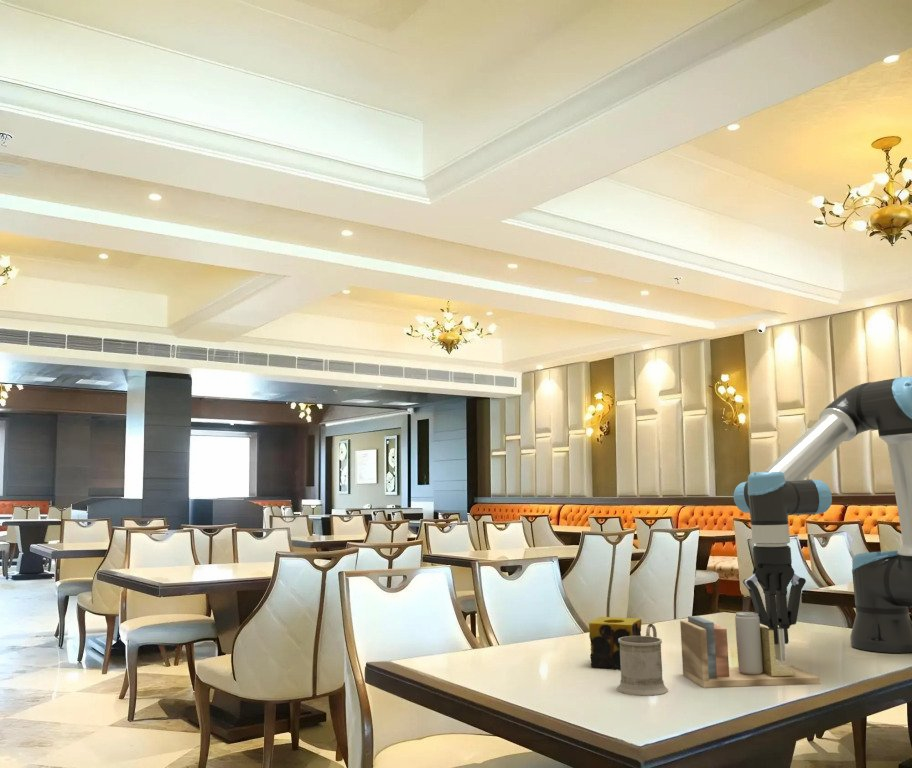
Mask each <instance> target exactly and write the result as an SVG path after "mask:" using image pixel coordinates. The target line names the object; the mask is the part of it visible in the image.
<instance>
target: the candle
mask: <svg viewBox="0 0 912 768" xmlns="http://www.w3.org/2000/svg"><path fill="white" fill-rule="evenodd" d="M588 630H589V637H588V638H589V640H590V667H591V668H592V669H593V668H594V669H604V668H605V669H606V670H617V671H618V670H620V671H621V664H620V643H619V642H618V639H619V638H621V637H627V636H642V633H641V631H642V618H641V617H637V618H636V617H618V616H617V617H615V616H614V617H613V616H612V617H611V616H599V617H597V618H595V619H593V620H592V621H590V622H588ZM605 669H604V670H605Z"/></svg>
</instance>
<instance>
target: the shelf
mask: <svg viewBox="0 0 912 768" xmlns="http://www.w3.org/2000/svg"><path fill="white" fill-rule="evenodd" d="M679 621H680V622H679V623H680V642H681V659H682V660H681V661H682V676H685V678H687V679H689V680H690V681H692V682H694V683H695V684H697V685H698V686H700V687H702V688H704V689H705V688H706V689H707V688H709V689H710V688H732V687H733V688H734V687H736V688H737V687H738V688H739V687H761V686H763V687H764V686H765V687H766V686H789V685H795V686H796V685H817V684H818V685H819V684H821V678H820V676H818V675H815V674H813V673H811V672H808V671H806V670H804V669H801V668H800V667H796V666H794V665H791V664H790V665H789V664H788V665H781V666H782V667H784V668H787V669H789V670H791V671H793V672H796V676H770V675H768V674H766V673H764V672H762V673H761V674H759V675H746V674H742V673H741V672H740V671H739V667H738V666H732V667H731V666H729V665H730V664H729V663H730V661H729V646H728V631H727V628H726V627H723V626H721V625H718V624H716V623H714V622H713V621H711V620H708V619H706V618H704V617H701V616H698V615H695V616H694V615H690V616H687V620H679Z"/></svg>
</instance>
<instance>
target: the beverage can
mask: <svg viewBox="0 0 912 768" xmlns="http://www.w3.org/2000/svg"><path fill="white" fill-rule="evenodd" d="M734 622H735V624H734V625H735V637H736V638H735V639H736V640H735V641H736V654H737V667H739V671H740V672H741V673H742V674H746V675H759V674H761V673H762V672H763V663H762V649H761V634H760V626H761V624H760V619H759V616H758V613H756V612H755V611H754V612H753V611H738V612H735V616H734Z"/></svg>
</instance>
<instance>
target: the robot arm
mask: <svg viewBox="0 0 912 768" xmlns="http://www.w3.org/2000/svg"><path fill="white" fill-rule="evenodd" d="M871 430H873V431H874V430H877V431H878V436H879V437H878V438H879V439H881V440H883V442H885V443H886V444H887V450H888V456H889V457H888V458H889V462H890V468H891V469H890V470H891V475H892V480H893V482H892V483H893V487H894V494H895V501H896V508H897V514H898V520H899V527H900V531H901V533H900V534H901V539H902V546H901V547H900V548H899V549H898V550H885V551H872V552H863V553H856V554H854V555H853V557H852V560H851V563H852V568H851V573H852V574H851V575H852V583H853V594H854V604H855V618H854V622H853V624H852V629H851V633H850V646H851V647H853V648H854V649H859V650H863V651H868V652H877V653H889V654H891V653H892V654H895V653H896V654H898V653H899V654H903V653H905V654H906V653H907V654H908V653H912V620H911V618H910V612H909V611H910V609H909V608H912V376H901V377H896V378H895V377H894V378H890V379H884V380H878V381H870V382H869V381H868V382H863V383H861V384H858V385H855V386H854V387H852V388H850V389H848V390H847V391H845V392H844V393H842V394H841V395H839V396H838V397H837V398H836V399H834V400H833V401H832V402H830V403H829V404H828V405H827V406H826V407H825V408H824V409H822V410H821V412H820V413H819V417H818V420H817V421H816V422H815V423H814V424H813V425H812V426H811V427H809V429H807V431H806V432H804V434H803V435H802V436H800V437H799V438H798V439H797V440H796V441H795V442H794V443H793V444H792V445H791V446H790V447H788V448H787V450H785V451H784V452H783V453H782V454H781V455H780V456H779V457H778V458H777V459H776V460H775V461H773V462H772V463H771V464H770V465H769V466H767V468H766V469H765V470H764V471H759V472H758V471H757V472H751V473H749V474H748V476H747V481H742V482H741V483H739V484H738V485H737V486H736V487H735V489H734V492H733V502H734V504H735V506H736V507H737V509H738V510H739V511H740V512H742V513H745V514H750V517H749V518H750V529H751V540H752V541H751V542H752V543H753V544H754V546H753V547H752V557H753V564H754V568H753V570H752V575H751V576H750V577H748V578H745V579H743V580H742V583H743V585H744V586H745V587H746V589H747V590H748V593H749V595H750V599H751V602H752V604H753V608H754V610H755V611H754V612H755V613H758V616H759V619H760V625H761V626H764V627H767V628H769V629H771V630H773V632H774V647H775V660H776V661H779V662H787V654H786V651H787V650H786V645H787V644H789V629H790V628H791V626H794V625H796V624H797V621H798V616H799V615H798V614H799V610H800V602H801V597H802V589H803V588H804V587H805V584H806V582H807V581H806V579H805V578H804V577H800V576H799V575H797V574H796V573H795V570H794V568H793V566H792V563H793V561H792V560H793V559H792V551H791V550H792V549H791V547H790V545H788V544H790V543H791V538H790V537H791V536H790V528H789V527H790V526H789V516H803V515H804V516H806V515H807V516H808V515H812V516H816V515H818V514H824V513H826V512H827V511H828V510H829V509H830V508H831V505H832V502H833V496H832V491H831V489H830V487H829V485H827V483H825V481H822V480H820V479H812V478H811V479H810V478H809V479H806V478H807V477H808V476H809V475H810V474H811V473H812V472H813V471H814V470H815V469H817V467H819V465H820V464H821V463H823V462H824V461H825V460H826V459H827V458H829V456H830V455H831V454H832V453H833V452H834V451H835V450H836V449H838V447H840V445H841V444H842V443H844V442H850V441H851V440H853V439H855V437H856V436H857V435H859V434H862V433H864V432H867V431H871ZM790 583H791V586H790V590H789V595H788V586H789V584H790ZM758 584H759V585H760V586H761V587H762V590H763V591H762V593H763V594H764V601H763V599H762V596H761V593H760V589H759V588H758V586H759V585H758ZM787 596H789V597H788V599H787ZM764 602H765V605H764Z"/></svg>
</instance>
